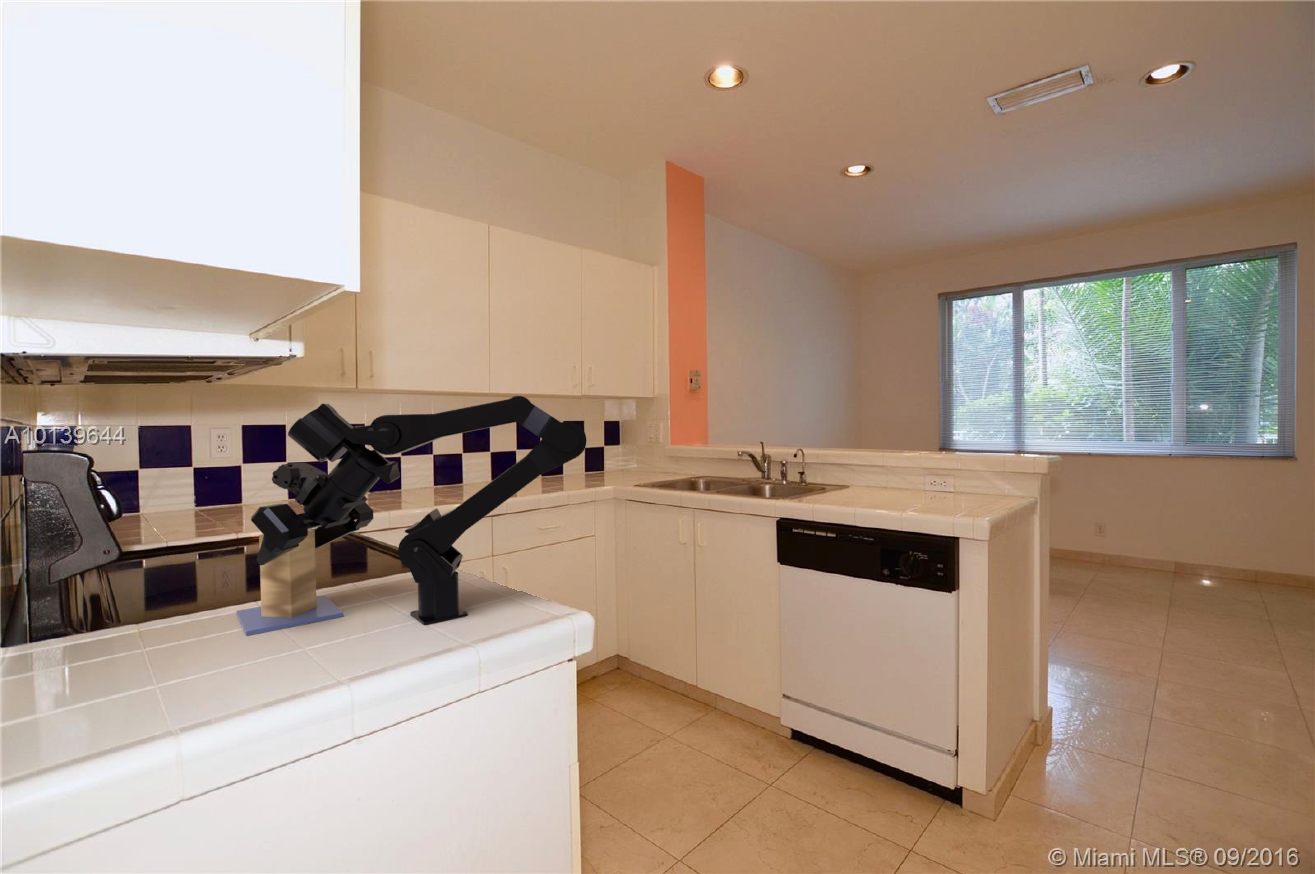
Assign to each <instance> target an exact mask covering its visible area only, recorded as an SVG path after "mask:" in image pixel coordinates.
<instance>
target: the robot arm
mask: <svg viewBox="0 0 1315 874" xmlns="http://www.w3.org/2000/svg"><path fill="white" fill-rule="evenodd" d="M515 423H517V424H519V425H521V426H522V427H524V428H525V429H527V430H528V431H530V432H531V433H533V434H534V435H535V436H537V437H538V438H540V439H541V440H540V441H539V442H538V443H536V445H535V446H534V447H532V449H531V450H530V451H529V452H528V453H527V454H526V456H524V457H523V458H522V459H520V460H519V461H518V462H516V463H515V464H513V465H512V466H510V467H509V468H507V470H505V471H504V472H503V473H501V474H499V475H498V476H497V477H496V478H494V479H492V481H490V482H489V483H488V484H486V485H484V487H482V488H481V489H480V490H478V491H477V492H476V493H474V494H472V496H470V497H469V498H467V499H466V500H465V501H463V502H462V503H460V505H458V506H457V507H455V508H454V509H451V510H450V511H447V512H445V513H443V514H441V513H440V511H439V509H438V508H434V509H433V510H431V511H430V512H429V513H427V514H426V515H425V516H424V517H423V518H422V519H421V520H420V521H417V522H415V523H413V524H412V525H411V526H408V528H406V529H404V533H405V534H406V535H405V536H404V537H403V538H401V540H400V542H398V550H397V554H398V559H399V560H400V562H401V563H402V565H404V567H406V568H408V569H409V571H410V573H411V576H412V578H413V580H414V583H416V584H417V599H418V600H417V604H418V606H417V607H418V609H416V610H412V611H410V616H411V617H413V619H415V620H416V621H418V622H419V623H421V625H423V626H428V625H432V624H433V625H434V624H437V623H442V622H447V621H449V620H454V619H455V620H456V619H459V618H464V617H467V616H468V615H469V612H468V611H466V610H465V609H463V608H461V607H460V597H459V596H460V595H459V594H460V592H459V591H460V589H459V586H460V584H459V571H457V569H458V568H460V566H461V562H462V559H463V557H464V556H463V554H462V553H461V552H460V551H459V550H458V549H457V548H455V547H454V546H453V545H454V544H455V543H456V541H457V540H459V538H460V537H461V536H462V535H463V534H464V533H465V532H466V531H467V530H469V529H470V528H471V527H473V526H474V525H476V524H477V523H478V522H479V521H481V520H482V519H484V518H485V517H486V516H487V515H489V514H490V513H492V511H494V510H495V509H497V508H498V507H500V506H501V505H502V504H504V503H505V502H506V501H507V500H509V499H510V498H512V497H513V496H514V495H516V494H517V493H518V492H520V491H522V489H524V488H526V486H527V485H529V484H530V483H532V482H533V481H534V480H535V479H537V478H539V476H541V475H543V474H546V473H548V472H549V471H552V470H554V469H557V468H559V467H561V466H563V465H565V464H566V463H569V462H571V461H572V460H575V459H577V458H579V456H580V455H582V453H583V452H584V451H585V449H586V446H587V441H588V440H587V435H586V432H585V431H584V429H583V427H581V426H580V425H579V424H577V423H576V422H573V421H560V420H558V419H556V418H555V417H553V416H552V415H550V414H549V413H547V412H545V411H544V410H543V409H541V408H540V407H538V406H537V405H535V404H533V403H532V402H531V400H530V399H529V398H527V397H526V396H522V395H515V396H512V397H510V398H507V399H504V400H503V399H502V400H497V401H492V402H487V403H483V404H477V405H472V406H467V407H462V408H456V409H451V410H446V411H441V412H437V413H420V414H419V413H418V414H417V413H416V414H414V413H413V414H411V413H410V414H384V415H380V416H378V417H376V418H374V419H373V420H372V422H371V424H369V425H355V426H353V425H352V424H351V423H350V422H348V420H346V419H345V418H344V417H343V416H341V415H340V414H339V412H337V410H336V409H335V408H334V407H333V406H332V405H330V403H321V404H320V405H319V406H318V407H317V408H316V409H313V410H311V411H310V412H308V413H307V414H305V415H304V416H303V417H300V418H298V419H297V420H296V421H295V422H294V423H293V424H292V426H291V427H290V428H289V430H288V432H287V435H288V437H289V438H290V439H291V440H293V441H294V442H295V443H296V444H297V445H298V446H299V447H301V448H302V449H303V450H304V451H306V453H308V454H309V455H310V456H312V457H313V458H315V460H317V461H318V462H319V463H323V462H326V461H327V460H329V462H330V463H333V462H336V461H338V460H339V459H340V458H341V457H342V458H341V459H340V460H339V462H338V463H337V464H336V465H335V466H334V467H333V468H332V469H331V471H330V472H329V473H327V472H325V471H323V470H321V469H319V468H317V467H315V466H313V465H312V464H309V463H308V462H307V463H306V462H293V463H285V464H284V463H283V464H281V465H278V467H277V469H275V470H274V471H273V472H272V478H271V481H272V483H273V484H274V485H276V486H277V487H279V488H280V489H281V488H282V489H283V490H287V491H289V492H291V493H293V494H294V495H296V497H295V498H294V500H295V502H297V504H298V505H300V506H302V507H303V508H302V509H303V512H302V513H299V514H298V513H296V512H295V511H294V509H293V508H292V506H291V505H289V504H288V503H275V504H270V505H266V506H265V505H264V506H259V507H258V508H257V510H256V511H255V512H254V513H253V514H252V516H251V518H250V521H251V523H253V524H254V525H255V527H256V528H257V529H258V530H259V531H260V533H262V534H263V540H262V544H261V547H260V546H259V551H258V554H257V557H256V562H257V563H258V565H259V566H260V565H261V566H262V565H265V564H267V563H269V562H270V561H272V560H274V559H276V558H278V557H280V556H282V555H283V554H285V553H287V552H289V551H291V550H293V549H294V548H296V547H298V546H299V543H300V542H302V541H303V540H304V539H305V538H306V537H307V536H308V529H315V550H316V549H319V548H321V547H323V546H326V545H327V544H329V543H332V542H334V541H336V540H338V539H340V538H344V537H345V536H347V535H349V534H352V533H355V532H357V531H359V530H360V529H361V528H365V527H367V526H368V525H369V524H371V522H372V520H374V510H373V509H372V507H370V505H368V503H367V501H368V498H367V497H366V495H367V493H368V492H369V491H370V490H371V489H372V487H374V485H375V484H376V483H377V482H378V481H379V480H380V479H381V480H382V481H383V482H385V484H391V483H393V482H394V481H395V480H398V479H399V478H400V476H401V474H400V473H401V472H400V471H399V470H400V469H399V467H398V465H399V463H398V461H390V460H387V459H386V457H384V456H383V455H385V456H388V455H389V456H392V455H397V454H402V453H406V452H409V451H411V450H414V449H417V448H419V447H421V446H425V445H427V444H429V443H431V442H434V441H437V440H440V439H442V438H445V437H450V436H455V435H459V434H464V433H468V432H474V431H478V430H485V429H488V428H489V429H490V428H494V427H495V428H496V427H499V426H504V425H510V424H515ZM364 445H365V446H364ZM366 446H370V447H371V448H373V449H371V450H370V449H369V448H367V447H366ZM343 455H344V456H343Z"/></svg>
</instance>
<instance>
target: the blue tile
mask: <svg viewBox="0 0 1315 874" xmlns="http://www.w3.org/2000/svg"><path fill="white" fill-rule="evenodd" d="M316 604H317V607H316V608H313V609H311V610H309V611H306V612H304V613H302V614H299V615H297V616H295V617H292V618H286V617H267V616H261V606H256V607H252V608H249V607H248V608H244V609H240V610H236V616H237V618H238V620H239V624H240V625H241V628H242V630H243V633H244V634H245V636H252V635H256V634H262V633H267V632H272V631H277V630H283V629H287V628H293V627H297V626H302V625H306V624H307V625H308V624H313V623H317V622H323V621H328V620H333V619H337V618H343V617H344V611H343V610H341V609H340V608H339V607H338V606H337V605H336V604H335V603H334V602H333V601H332V600H331V599H330V598H329V597H328V596H327V595H324V594H323V595H320V596H316Z"/></svg>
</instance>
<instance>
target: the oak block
mask: <svg viewBox="0 0 1315 874" xmlns="http://www.w3.org/2000/svg"><path fill="white" fill-rule="evenodd" d="M315 531H316V529H315V528H312V529H308V536H307V537H306V538H305V539H304V540H303V541H302V542H300V543H299V546H298V547H296V548H294V549H293V550H291V551H289V552H287V553H285V554H283V555H282V556H280V557H278V558H276V559H274V560H272V561H270V562H269V563H267V564H265V565H262V566H261V565H260V564H259V571H260V572H259V575H260V576H259V577H260V580H259V581H260V607H261V616H267V617H286V618H292V617H295V616H297V615H299V614H302V613H304V612H306V611H309V610H311V609H313V608H316V607H317V604H316V597H317V570H316V569H317V568H316V549H315ZM258 536H259V537H258V539H259V541H258V542H259V548H260V547H261V544H262V540H263V533H262V534H258Z"/></svg>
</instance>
